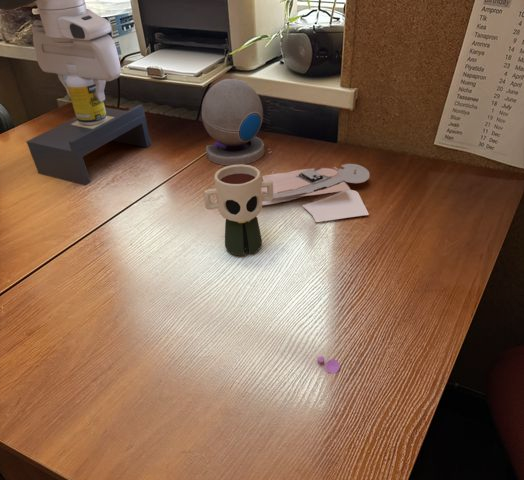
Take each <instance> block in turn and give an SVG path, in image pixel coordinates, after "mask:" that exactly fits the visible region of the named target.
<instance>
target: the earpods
mask: <svg viewBox="0 0 524 480" xmlns="http://www.w3.org/2000/svg"><path fill="white" fill-rule="evenodd" d="M316 361H317V363H319V364H322V363H323V364H324V362H325V358H324V356H322V355H319V356H318V357H317V359H316ZM340 365H341V364H340V362H339V361H338V359H337V360H336V359H334V358H331V359H328V360H327V361H326V363H325V366H324V367H325V370H326V371H327V372H328V373H329V374H336V373H338V371H340V368H341V367H340Z"/></svg>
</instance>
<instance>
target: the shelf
mask: <svg viewBox="0 0 524 480" xmlns="http://www.w3.org/2000/svg"><path fill="white" fill-rule="evenodd" d="M105 110H106V114H107V118H106V120H105V121H103V122H102V123H99V124H95V125H83V124H80V123H79V122H78V121H77V118H76V116H75V117H73V118H71V119H70V120H67V121H65V122H63V123H61V124H59V125H57V126H55V127H53V128H50V129H49V130H47V131H45V132H43V133H40V134H39V135H36V136H34V137H32V138H30V139H28V140H26V145H27V147H28V149H29V152H30V155H31V157H32V160H33V163H34V166H35V168H36V170H37V173H38V174H40V175H42V176H43V175H44V176H48V177H52V178H55V179H59V180H63V181H67V182H71V183H75V184H79V185H82V186H87V185H89V184H90V183H91V180H90V176H89V173H88V170H87V166H86V164H85V163H86V162H85V160H84V157H85V156H86V155H88V154H90V153H91V152H94V151H95V150H97V149H99V148H100V147H103V146H104V145H106V144H108V143H109V142H112V141H113V142H119V143H124V144H128V145H133V146H137V147H141V148H142V147H143V148H149V147H151V145H152V142H151V138H150V133H149V128H148V123H147V118H146V113H145V109H144V105H143V104H141V103H140V104H137V105H135V106H133V107H131V108H129V109H128V110H123V109H118V108H111V107H107V106H105Z"/></svg>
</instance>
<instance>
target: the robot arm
mask: <svg viewBox="0 0 524 480" xmlns="http://www.w3.org/2000/svg"><path fill="white" fill-rule="evenodd" d="M33 3H35V4H36V6H37V10H38V13H39V17H40V19H36V20H34V21H33V23H32V25H31V32H32V44H33V48H34V52H35V57H36V61H37V64H38V66H39V68H40V69H41V70H42V72H44V73H48V74H49V73H50V74H56V75H57V77H58V80H59V81H60V83H61V84H62V86H63V87H64V88H65V90H66V93H67V96H68V97H70V94H69V91H68V87H67V83H66V80H67V78H68V76H70V72H68V70H67V67H66V64H69V65H76V68H77V73H76V74H77V75H78V76H79V77H83V78H90V79H93V82H94V84H96V91H95V92H93V95H94V99H95V100H96V101H101V102H102V101H103V102H104V101H106V95H105V88H106V83H107V82H111V81H114V80H116V79H118V78H120V76H121V73H122V66H121V62H120V59H119V58H120V56H119V53H118V50H117V46H116V42H115V41H114V39H113V38H112V36H111V35H109V34H110V33H111V32H112V27H111V22H110V20H108V19H106V18H104V17H102V16H101V15H99V14H97V13H96V12H94V11H92V10H91V9H90V8H87V5H86V1H85V0H0V10H4V11H15V10H19V9H21V8H22V7H25V6H28V5H31V4H33Z"/></svg>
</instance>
